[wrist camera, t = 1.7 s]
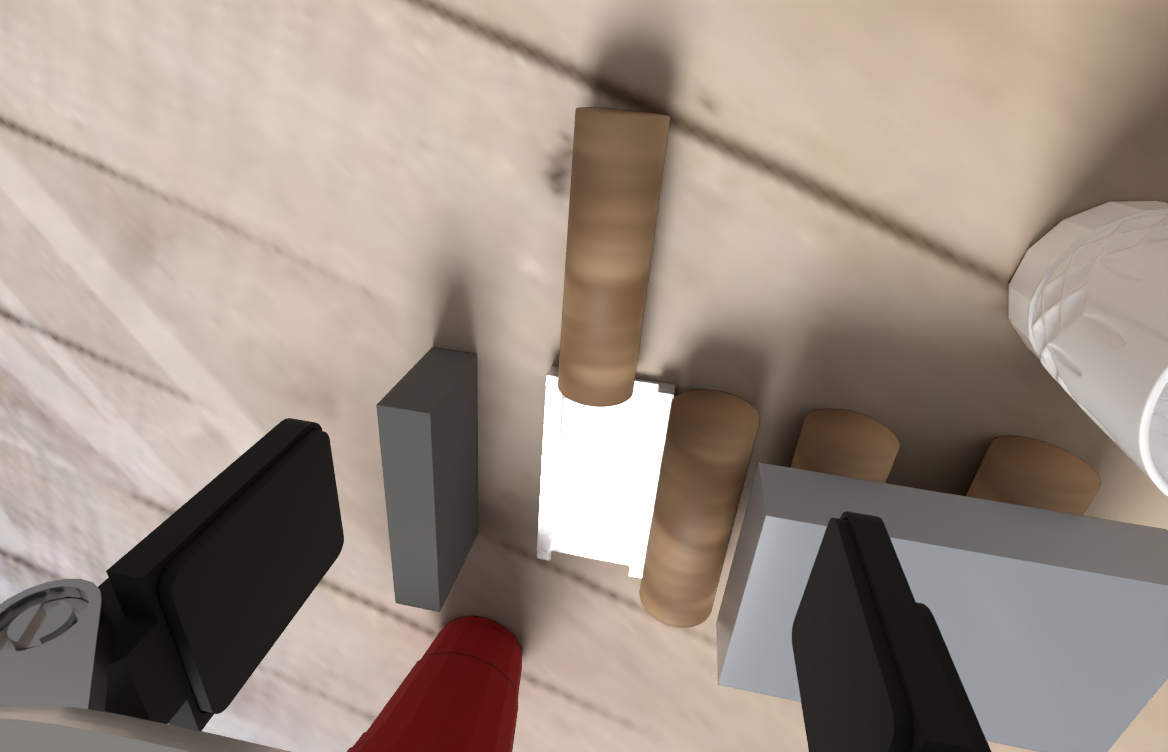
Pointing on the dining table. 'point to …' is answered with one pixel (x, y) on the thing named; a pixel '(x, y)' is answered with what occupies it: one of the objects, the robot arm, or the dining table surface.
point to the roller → (609, 250)
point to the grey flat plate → (601, 474)
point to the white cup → (1104, 321)
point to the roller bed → (826, 444)
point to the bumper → (430, 474)
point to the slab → (970, 602)
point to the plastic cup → (454, 695)
